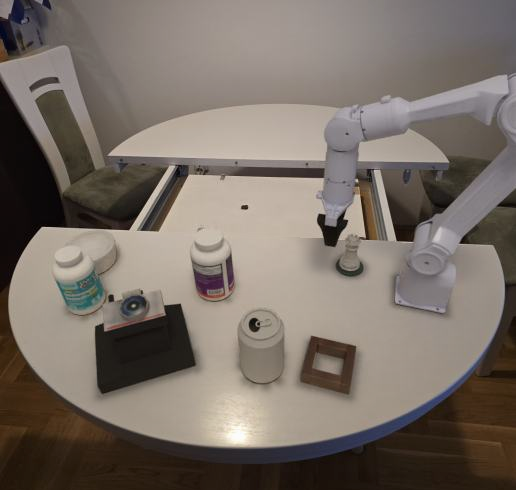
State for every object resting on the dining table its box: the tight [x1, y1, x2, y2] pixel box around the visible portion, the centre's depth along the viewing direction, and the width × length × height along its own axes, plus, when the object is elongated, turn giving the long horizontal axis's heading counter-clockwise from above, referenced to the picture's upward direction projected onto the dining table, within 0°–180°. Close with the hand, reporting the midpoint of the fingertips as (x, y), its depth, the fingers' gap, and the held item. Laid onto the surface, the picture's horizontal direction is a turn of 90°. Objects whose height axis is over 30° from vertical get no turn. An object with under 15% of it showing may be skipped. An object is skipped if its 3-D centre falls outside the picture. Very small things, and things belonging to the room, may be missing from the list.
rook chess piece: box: [339, 233, 362, 271], centre depth 87 cm, size 4×4×8 cm
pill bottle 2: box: [189, 226, 236, 302], centre depth 81 cm, size 8×8×14 cm
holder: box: [300, 335, 357, 395], centre depth 69 cm, size 8×8×2 cm
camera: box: [94, 288, 197, 395], centre depth 70 cm, size 16×14×15 cm
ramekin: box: [64, 229, 117, 275], centre depth 91 cm, size 11×11×5 cm
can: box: [237, 307, 285, 384], centre depth 66 cm, size 8×8×12 cm
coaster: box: [335, 258, 364, 277], centre depth 89 cm, size 6×6×1 cm
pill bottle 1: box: [51, 246, 106, 316], centre depth 79 cm, size 8×7×14 cm
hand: (333, 233), depth 82 cm, fingers open, 7 cm apart
